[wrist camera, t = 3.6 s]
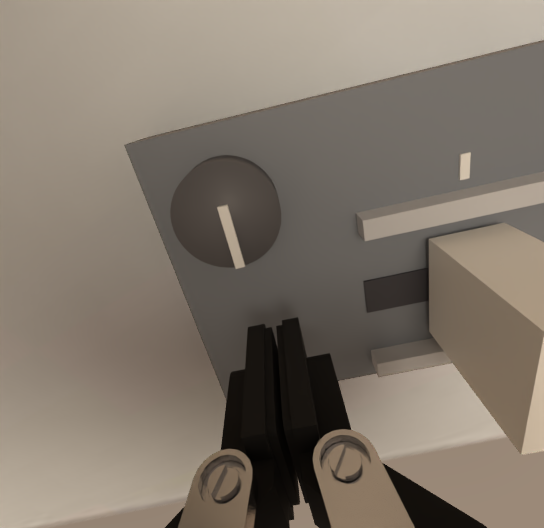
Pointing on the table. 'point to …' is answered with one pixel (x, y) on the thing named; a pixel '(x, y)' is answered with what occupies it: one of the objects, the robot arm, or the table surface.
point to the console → (346, 206)
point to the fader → (494, 322)
